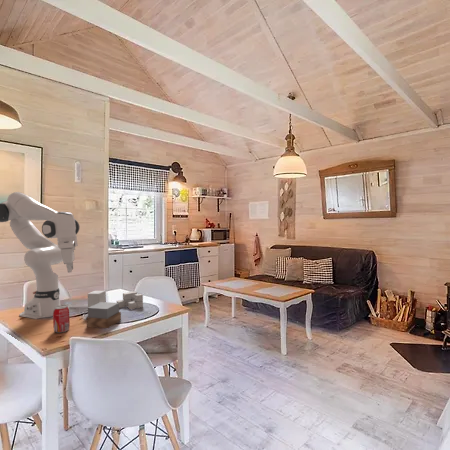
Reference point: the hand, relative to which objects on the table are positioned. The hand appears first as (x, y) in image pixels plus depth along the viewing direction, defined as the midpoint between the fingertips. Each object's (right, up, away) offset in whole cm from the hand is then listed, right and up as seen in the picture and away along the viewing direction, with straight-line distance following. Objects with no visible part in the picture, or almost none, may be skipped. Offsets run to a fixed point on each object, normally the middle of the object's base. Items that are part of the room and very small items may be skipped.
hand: (70, 270), depth 158 cm
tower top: (+15, -24, +6) cm, 29 cm away
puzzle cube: (+19, -28, +36) cm, 49 cm away
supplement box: (+4, -28, +23) cm, 37 cm away
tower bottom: (+15, -29, +6) cm, 33 cm away
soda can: (-2, -29, -4) cm, 30 cm away
